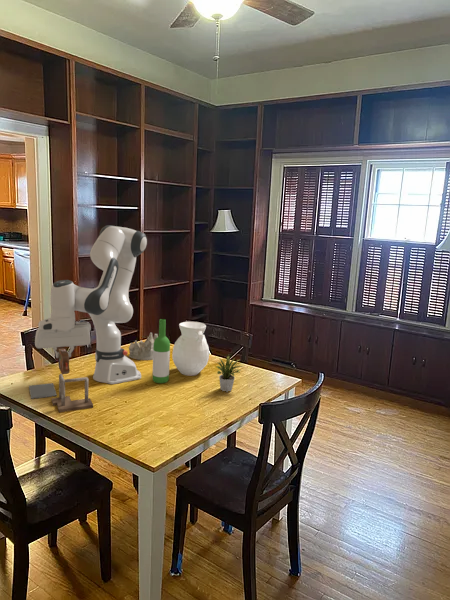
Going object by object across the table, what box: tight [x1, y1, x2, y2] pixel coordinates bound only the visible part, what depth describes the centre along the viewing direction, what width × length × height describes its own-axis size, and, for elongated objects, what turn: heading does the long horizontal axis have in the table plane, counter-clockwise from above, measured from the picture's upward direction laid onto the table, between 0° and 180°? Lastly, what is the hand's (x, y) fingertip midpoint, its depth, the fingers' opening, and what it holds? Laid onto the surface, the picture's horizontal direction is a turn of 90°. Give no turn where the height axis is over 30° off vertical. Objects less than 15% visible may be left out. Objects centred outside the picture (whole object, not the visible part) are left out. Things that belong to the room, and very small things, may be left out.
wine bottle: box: [152, 318, 171, 384], centre depth 212 cm, size 8×8×30 cm
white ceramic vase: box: [171, 321, 210, 376], centre depth 226 cm, size 19×18×25 cm
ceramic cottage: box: [128, 332, 159, 361], centre depth 250 cm, size 16×16×15 cm
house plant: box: [214, 355, 244, 393], centre depth 205 cm, size 14×14×16 cm
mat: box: [28, 382, 58, 400], centre depth 195 cm, size 10×14×1 cm
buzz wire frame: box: [51, 373, 94, 413], centre depth 183 cm, size 14×12×12 cm
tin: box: [57, 348, 71, 375], centre depth 176 cm, size 15×3×8 cm, turn 27°
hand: (63, 357), depth 176 cm, fingers closed on tin, 3 cm apart
